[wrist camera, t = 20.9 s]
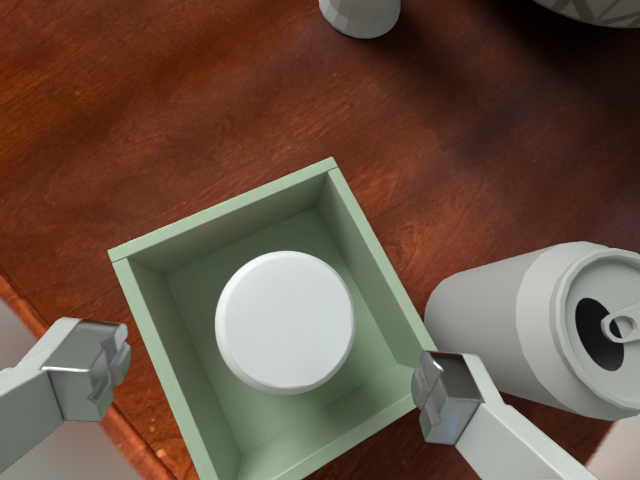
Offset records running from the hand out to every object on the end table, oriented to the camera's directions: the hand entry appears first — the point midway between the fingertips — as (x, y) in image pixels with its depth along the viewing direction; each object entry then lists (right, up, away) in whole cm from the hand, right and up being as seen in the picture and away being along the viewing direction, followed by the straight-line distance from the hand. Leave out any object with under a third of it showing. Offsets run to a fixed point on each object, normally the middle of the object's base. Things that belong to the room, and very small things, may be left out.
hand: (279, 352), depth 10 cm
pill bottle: (-1, -2, +13) cm, 14 cm away
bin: (-1, -2, +14) cm, 14 cm away
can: (+12, -3, +15) cm, 20 cm away
